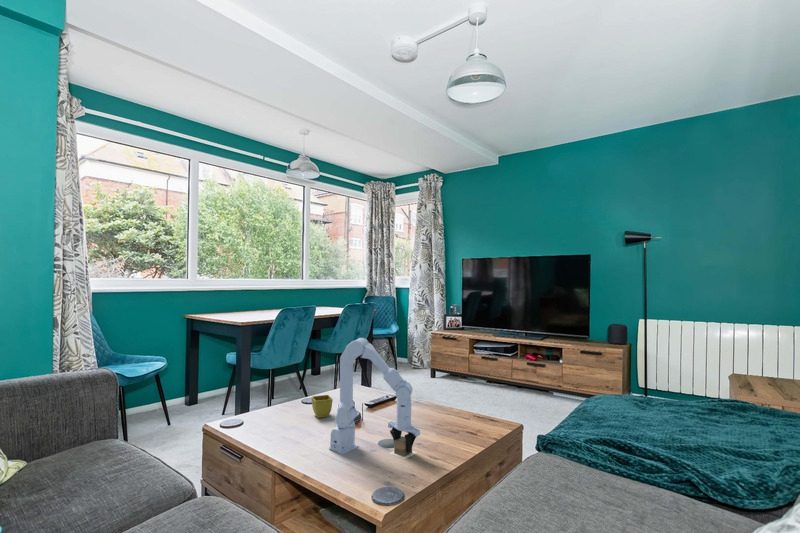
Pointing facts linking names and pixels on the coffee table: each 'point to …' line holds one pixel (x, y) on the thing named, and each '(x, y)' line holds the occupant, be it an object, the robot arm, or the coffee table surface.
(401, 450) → the walnut block
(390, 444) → the slate coaster
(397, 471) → the coffee table surface
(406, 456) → the tile
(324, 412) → the flower pot
